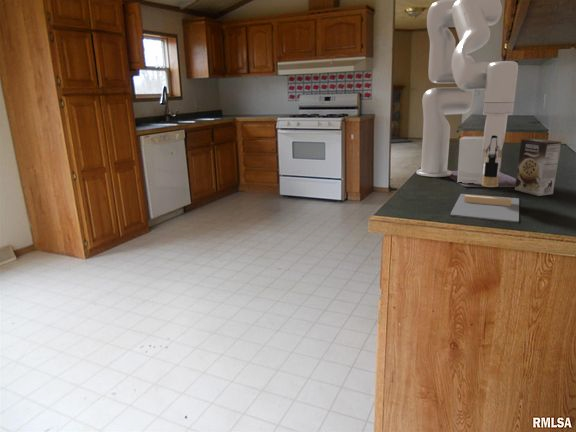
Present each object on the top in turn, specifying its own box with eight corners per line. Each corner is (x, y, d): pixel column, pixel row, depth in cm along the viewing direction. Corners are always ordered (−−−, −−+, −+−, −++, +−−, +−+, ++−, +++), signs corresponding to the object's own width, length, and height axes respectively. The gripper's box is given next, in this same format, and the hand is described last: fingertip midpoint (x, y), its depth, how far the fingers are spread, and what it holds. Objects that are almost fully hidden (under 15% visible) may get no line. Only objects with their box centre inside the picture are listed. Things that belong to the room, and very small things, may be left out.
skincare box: (485, 181, 151) (490, 136, 147) (481, 185, 146) (486, 138, 141) (460, 179, 156) (464, 135, 151) (455, 182, 150) (459, 137, 146)
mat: (460, 194, 134) (461, 188, 134) (518, 199, 127) (519, 192, 126) (450, 215, 114) (450, 207, 113) (518, 222, 107) (519, 214, 106)
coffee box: (513, 190, 139) (520, 139, 134) (528, 187, 141) (535, 137, 136) (538, 196, 130) (546, 142, 126) (554, 194, 132) (562, 140, 128)
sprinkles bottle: (484, 183, 128) (489, 137, 124) (500, 185, 125) (506, 138, 121) (478, 186, 124) (483, 139, 121) (495, 188, 121) (500, 139, 118)
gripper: (485, 107, 127) (479, 169, 132) (480, 111, 113) (474, 179, 118) (513, 107, 124) (506, 170, 129) (512, 110, 110) (504, 181, 115)
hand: (491, 174), depth 124 cm, fingers closed on sprinkles bottle, 4 cm apart
